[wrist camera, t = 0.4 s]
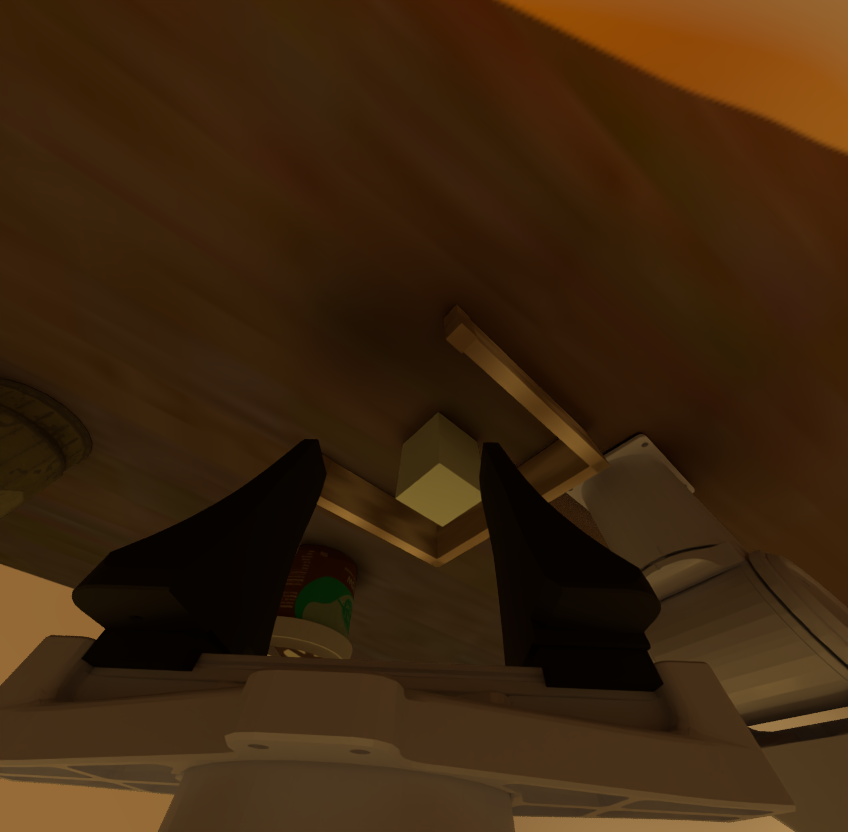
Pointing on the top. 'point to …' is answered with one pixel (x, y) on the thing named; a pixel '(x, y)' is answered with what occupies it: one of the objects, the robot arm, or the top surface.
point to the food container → (316, 605)
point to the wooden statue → (35, 443)
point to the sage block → (439, 471)
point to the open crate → (437, 544)
